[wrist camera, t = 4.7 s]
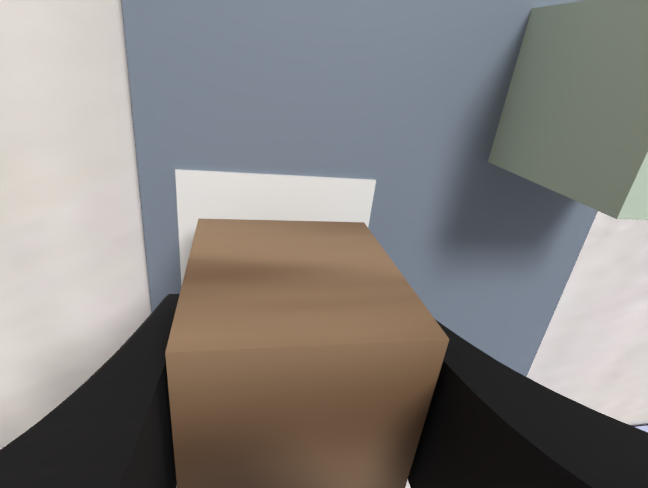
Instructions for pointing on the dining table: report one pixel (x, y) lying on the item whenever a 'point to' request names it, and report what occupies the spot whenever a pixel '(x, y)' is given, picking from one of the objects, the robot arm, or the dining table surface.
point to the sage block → (581, 105)
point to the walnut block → (297, 359)
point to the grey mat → (353, 145)
